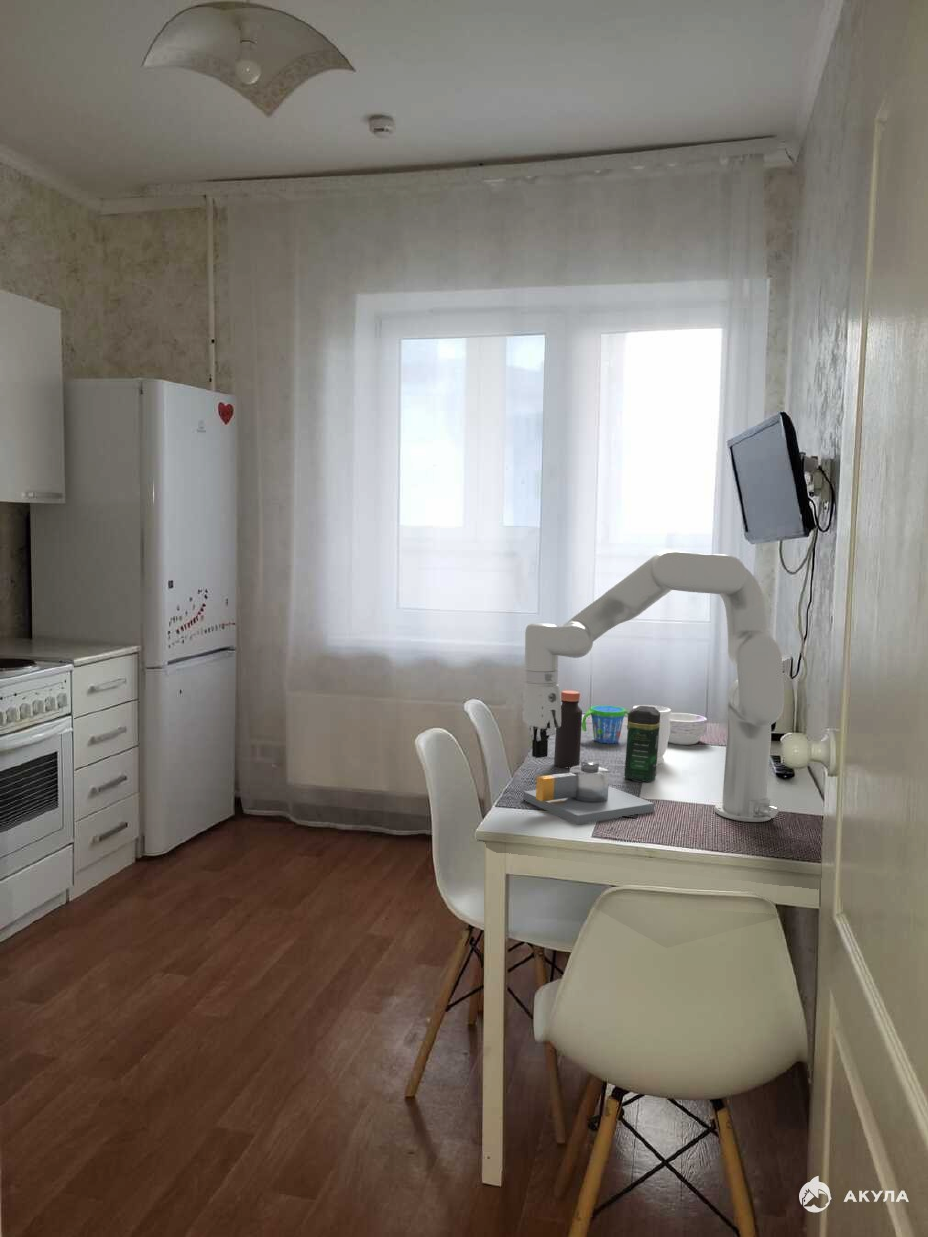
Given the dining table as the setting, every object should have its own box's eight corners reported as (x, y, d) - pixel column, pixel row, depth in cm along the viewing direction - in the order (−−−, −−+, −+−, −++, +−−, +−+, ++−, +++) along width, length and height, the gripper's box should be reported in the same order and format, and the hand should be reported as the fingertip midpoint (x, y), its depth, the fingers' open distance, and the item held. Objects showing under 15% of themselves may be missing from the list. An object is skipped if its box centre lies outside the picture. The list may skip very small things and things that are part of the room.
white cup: (652, 767, 253) (655, 713, 252) (622, 759, 261) (625, 706, 259) (675, 762, 260) (679, 709, 259) (645, 754, 268) (648, 703, 266)
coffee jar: (653, 784, 236) (657, 711, 234) (621, 780, 238) (626, 708, 236) (658, 775, 245) (663, 705, 243) (628, 771, 247) (632, 702, 246)
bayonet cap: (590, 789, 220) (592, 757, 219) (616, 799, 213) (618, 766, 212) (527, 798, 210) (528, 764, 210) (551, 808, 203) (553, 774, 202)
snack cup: (586, 745, 277) (588, 711, 276) (576, 737, 287) (578, 704, 286) (636, 745, 279) (638, 712, 278) (625, 737, 290) (627, 705, 289)
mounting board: (653, 812, 212) (654, 803, 211) (577, 824, 200) (578, 815, 200) (596, 789, 228) (597, 781, 228) (523, 800, 217) (523, 791, 217)
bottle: (553, 761, 255) (557, 689, 253) (578, 763, 255) (582, 690, 253) (554, 768, 248) (558, 693, 246) (580, 769, 248) (584, 694, 246)
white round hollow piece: (651, 735, 295) (653, 710, 294) (700, 737, 295) (701, 712, 294) (659, 746, 280) (661, 720, 279) (710, 748, 279) (712, 722, 279)
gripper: (573, 681, 209) (571, 762, 210) (537, 672, 222) (536, 748, 223) (545, 683, 205) (543, 765, 207) (510, 674, 218) (509, 751, 220)
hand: (539, 756), depth 215 cm, fingers closed
